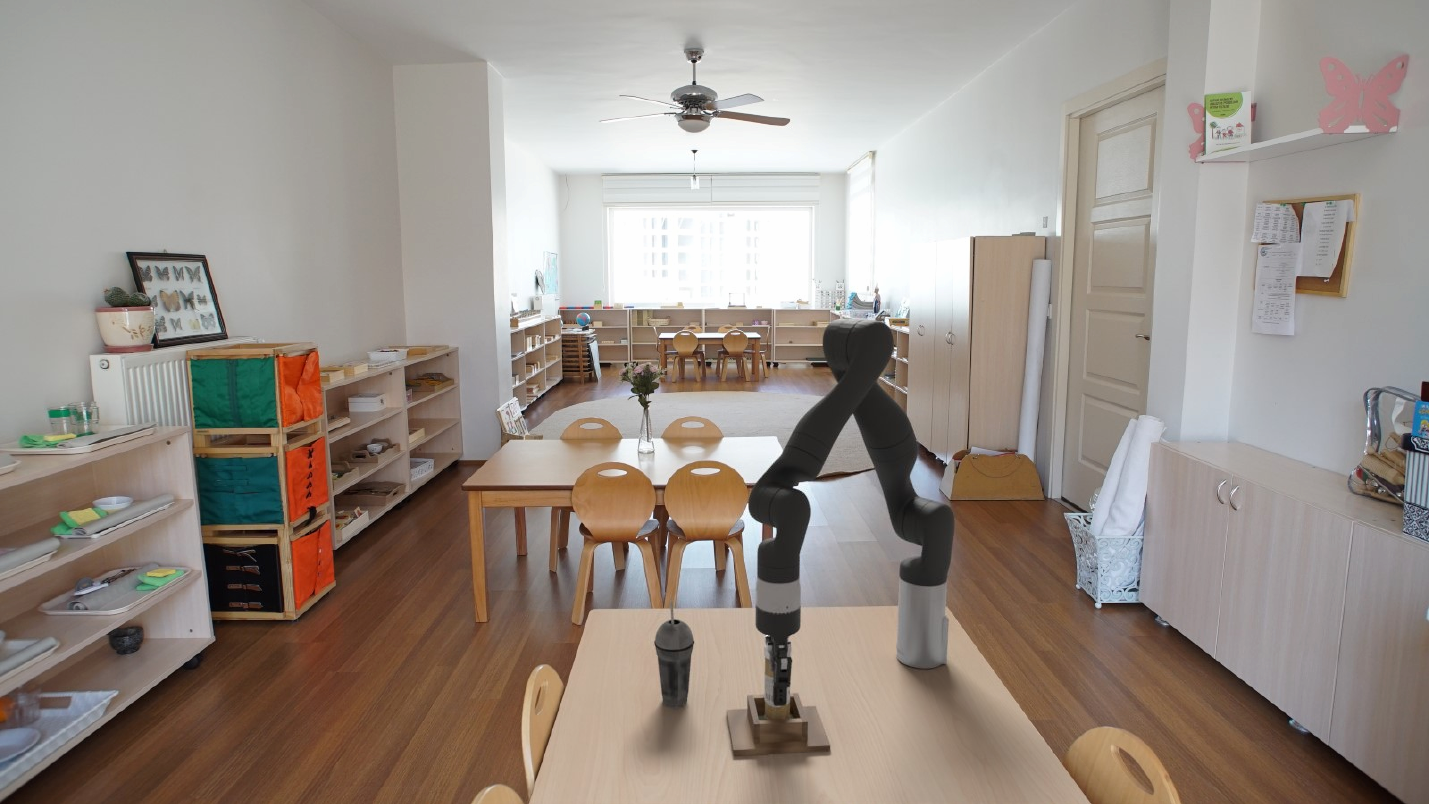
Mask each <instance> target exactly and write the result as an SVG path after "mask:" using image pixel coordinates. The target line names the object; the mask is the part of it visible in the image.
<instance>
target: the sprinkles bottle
mask: <svg viewBox="0 0 1429 804" xmlns="http://www.w3.org/2000/svg"><path fill="white" fill-rule="evenodd" d="M763 655H764V695H765V714H764V717H765V719H766V720H780V719H790V693H791V686H790V687H787V703H786V705H783V706H775V705H774V703H773V683H772V680H773V676H772V671H771V670H770V668H769V653H768V651H767V643H765V642H764V647H763ZM790 657H791V658H792V652H791V653H790ZM773 665H775V662H774V660H773ZM780 678H783V677H780Z"/></svg>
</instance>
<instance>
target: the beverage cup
mask: <svg viewBox="0 0 1429 804" xmlns="http://www.w3.org/2000/svg"><path fill="white" fill-rule="evenodd" d="M673 602H674V601H673V600H672V599H670V600H669V605H670V606H669V607H670V609H669V610H670V619H669V620H666V621H665V622H663V623H661V625H660V626H659V628H658V630H657V631H656V634H655V636H654V644H653V645H654V646H655V647H654V648H655V653H656V656H657V661H658V663H657V664H658V672H659V673H658V674H659V682H660V692H661V697H662V704H663V705H665V706H666V707H668V708H680V707H684V706H685V705H686V704H687V703H688V695H689V688H690V686H689V685H690V675H691V666H692V665H691V662H692V655H693V650H694V644H695V640H694V635H693V631H692V629H691V628H690V626H689V625H688V624H687V623H686V622H685V621H683V620H680V619H676V618H675V617H674V616H675V615H674V603H673Z"/></svg>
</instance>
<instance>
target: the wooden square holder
mask: <svg viewBox="0 0 1429 804" xmlns="http://www.w3.org/2000/svg"><path fill="white" fill-rule="evenodd" d="M746 698H747V699H746V708H743V709H742V708H739V709H737V708H736V709H726V719H727V724H728V730H729V736H730V743H731V747H732V748H731V749H732V755H733V757H735V756H737V757H738V756H751V755H753V756H755V755H771V754H772V755H774V754H775V755H776V754H793V753H811V752H812V753H815V752H830V751H831V743H830V741H829V738H828V735H827V732H826V730H825V727H824V725H823V721H822V718H821V717H820V714H819V711H818V709H817V706H816V705H807V706H806V705H805V706H803V702H802V700H801V698H800V694H799V693H798V692H795V693H794V692H792V693H791V692H790V719H780V720H766V719H765V717H764V714H765V694H747V697H746Z"/></svg>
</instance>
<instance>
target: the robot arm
mask: <svg viewBox="0 0 1429 804" xmlns="http://www.w3.org/2000/svg"><path fill="white" fill-rule="evenodd" d="M893 335H894V334H893V332H892V330H891V328H890V327H889V325H888V324H887V323H885V322H883V321H880V320H874V319H860V318H840V319H839V318H838V319H834V320H832V321H831V322H829V323H828V325H826V327H825V329H824V331H823V335H822V350H823V355H824V359H825V361H826V363H827V365H828V367H829V370H830V371H831V372H832V374H833V376H834V378H835V380H836V382H837V384H836V385H835V386H834V387H833V388H832V389H831V390H830V391H829V392H828V393H827V394H826V395H825V396H824V397H822V398H821V399H820V400H819V401H818V402H816V404H814V405H813V406H812V407H811V408H809V410H807V412H806V413H805V414H804V415H803V416H802V417H801V418H800V420H798V422H797V424H796V426H794V427H795V428H794V429H793V431H792V433H791V434H790V437H789V439H788V441H787V442H786V444H785V446H784V448H783V451H782V453H781V454H780V455H779V456H778V457H777V459H775V461H773V463H771V464H770V466H769V467H768V468H767V469H766V471H765V472H764V473H763V474H762V475H761V477H759V479H758V480H757V481H756V483H755V484H754V486H753V487H752V489H751V490H750V493H749V496H748V503H747V504H748V507H747V508H748V513H749V515H750V517H751V518H752V519H753V520H754V521H756V522H758V523H760V524H762V525H765V526H769V527H772V528H775V529H776V533H775V537H768V538H766V539H763V540H762V541H760V543H759V544H758V547H757V551H756V552H757V555H756V557H757V558H756V559H757V560H756V563H757V564H756V566H757V567H756V568H757V570H756V574H757V575H756V583H755V628H756V629H757V631H758V632H760V633H761V634H763V635H764V644H765V643H767V651H768V653H769V668H770V670H771V671H772V676H773V680H772V683H773V703H774V705H775V706H783V705H786V703H787V687H790V688H791V683H792V682H791V679H792V666H793V665H792V664H793V658H792V656H791V657H790V653H791V654H792V642H791V641H790V639H789V638H790V637H791V636H792V635H795V634H796V633H798V632H799V631H800V629H801V622H802V621H801V619H802V617H801V615H802V612H801V611H802V587H801V586H802V585H801V578H800V573H801V572H800V571H801V570H800V568H801V567H800V566H801V564H800V563H801V562H800V561H801V551H802V547H803V544H804V541H805V539H806V538H805V537H806V535H807V531H808V527H809V524H810V520H811V514H812V511H811V510H812V509H811V504H810V501H809V500H810V499H809V498H808V496H807V494H805V493H804V492H803V491H802V490H800V489H798V488H795V485H797V484H798V483H800V482H807V481H810V482H811V481H813V480H815V479H817V478H818V476H819V475H820V472H821V471H822V469H823V467H824V465H825V463H826V461H827V459H828V457H829V455H830V453H831V451H832V449H833V447H834V445H835V443H836V441H837V440H838V438H839V435H840V434H841V432H842V431H843V429H844V427H845V426H846V424H847V423H848V421H849V420H850V418H851V417H852V416H853V418H854V419H855V422H856V424H857V427H858V430H859V432H860V435H861V438H862V441H863V444H864V446H865V448H866V451H867V454H868V457H869V458H870V459H871V462H872V465H873V467H874V470H875V473H876V475H877V478H878V481H879V483H880V484H879V485H880V487H881V489H882V493H883V496H884V499H885V504H886V508H887V511H888V516H889V519H890V522H891V526H892V528H893V530H894V533H895V534H896V536H898V537H899V538H900V539H902V540H904V541H905V542H908V543H911V544H913V545H917V546H920V547H921V554H920V555H917V556H911V557H907V558H905V559H903V560H902V561H901V562H900V564H899V573H898V575H899V577H898V580H899V581H898V597H897V598H898V600H897V601H898V604H897V605H898V606H897V625H896V626H897V629H896V630H897V631H896V632H897V633H896V654H895V655H896V659H898V661H899V662H901V663H902V664H904V665H906V666H908V667H910V668H915V669H923V670H925V669H935V668H938V667H940V666H941V665H946V664H947V663H948V648H949V647H948V645H949V627H950V626H949V625H950V624H949V623H950V621H949V618H948V617H947V615H946V612H947V611H946V607H947V606H946V605H947V604H946V603H947V587H948V586H947V585H948V584H947V583H948V582H947V581H948V572H949V570H950V567H951V561H952V554H953V552H952V551H953V543H954V536H955V515H954V511H953V509H952V508H951V507H950V505H948V504H946V503H943V502H940V501H936V500H932V499H929V498H925V497H922V496H919V495H918V494H917V492H916V490H915V488H914V485H913V483H912V480H911V475H912V474H911V473H912V472H913V469H914V467H915V464H916V462H917V459H918V455H919V446H918V445H919V444H918V439H917V437H916V434H915V432H914V429H913V426H912V423H911V420H910V418H909V417H908V415H907V413H906V412H905V411H904V409H903V408H902V407H901V405H899V403H898V402H896V400H894V399H893V397H892V396H891V395H890V394H889V393H888V392H886V390H884V388H883V387H882V386H881V385H880V384H879V383H878V382H877V381H878V379H880V377H881V376H882V374H883V373H884V371H885V369H886V368H887V366H888V364H889V363H890V361H891V358H892V356H893V351H894V346H895V340H894V336H893ZM773 660H774V662H775V665H773ZM780 677H783V678H780Z"/></svg>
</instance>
